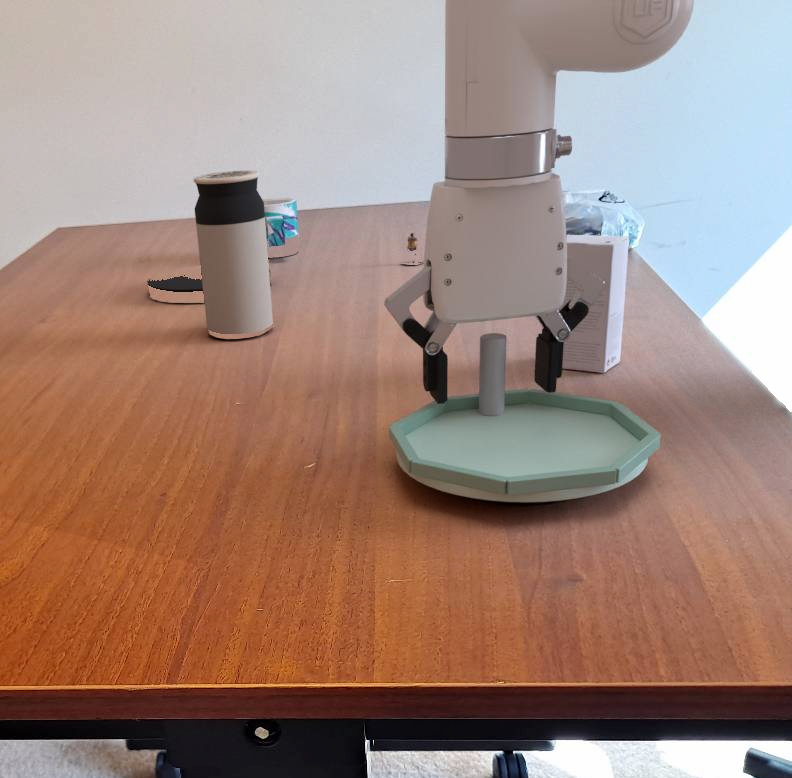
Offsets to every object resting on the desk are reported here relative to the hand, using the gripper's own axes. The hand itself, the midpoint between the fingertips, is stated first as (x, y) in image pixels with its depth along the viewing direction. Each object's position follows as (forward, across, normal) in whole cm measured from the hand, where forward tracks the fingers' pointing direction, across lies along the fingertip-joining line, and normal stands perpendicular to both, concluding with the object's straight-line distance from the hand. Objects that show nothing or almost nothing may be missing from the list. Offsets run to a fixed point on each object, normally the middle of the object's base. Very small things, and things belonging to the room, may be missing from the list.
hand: (491, 392), depth 78 cm
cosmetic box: (+4, -14, -17) cm, 22 cm away
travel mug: (+4, +18, -43) cm, 47 cm away
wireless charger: (+4, +21, -70) cm, 73 cm away
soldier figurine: (+4, -10, -73) cm, 74 cm away
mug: (+4, +9, -90) cm, 91 cm away
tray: (+2, 0, +7) cm, 7 cm away
